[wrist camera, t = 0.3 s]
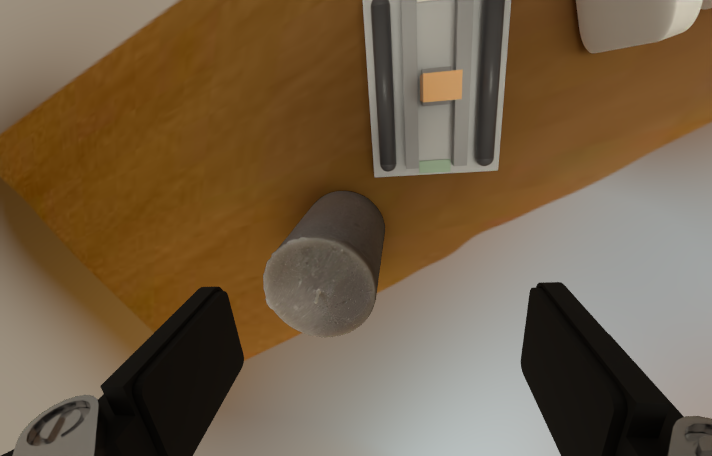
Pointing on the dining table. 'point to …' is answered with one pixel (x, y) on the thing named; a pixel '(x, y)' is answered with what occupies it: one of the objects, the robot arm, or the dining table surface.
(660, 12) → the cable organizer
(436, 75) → the lever
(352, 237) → the pillar candle
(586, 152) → the dining table surface
